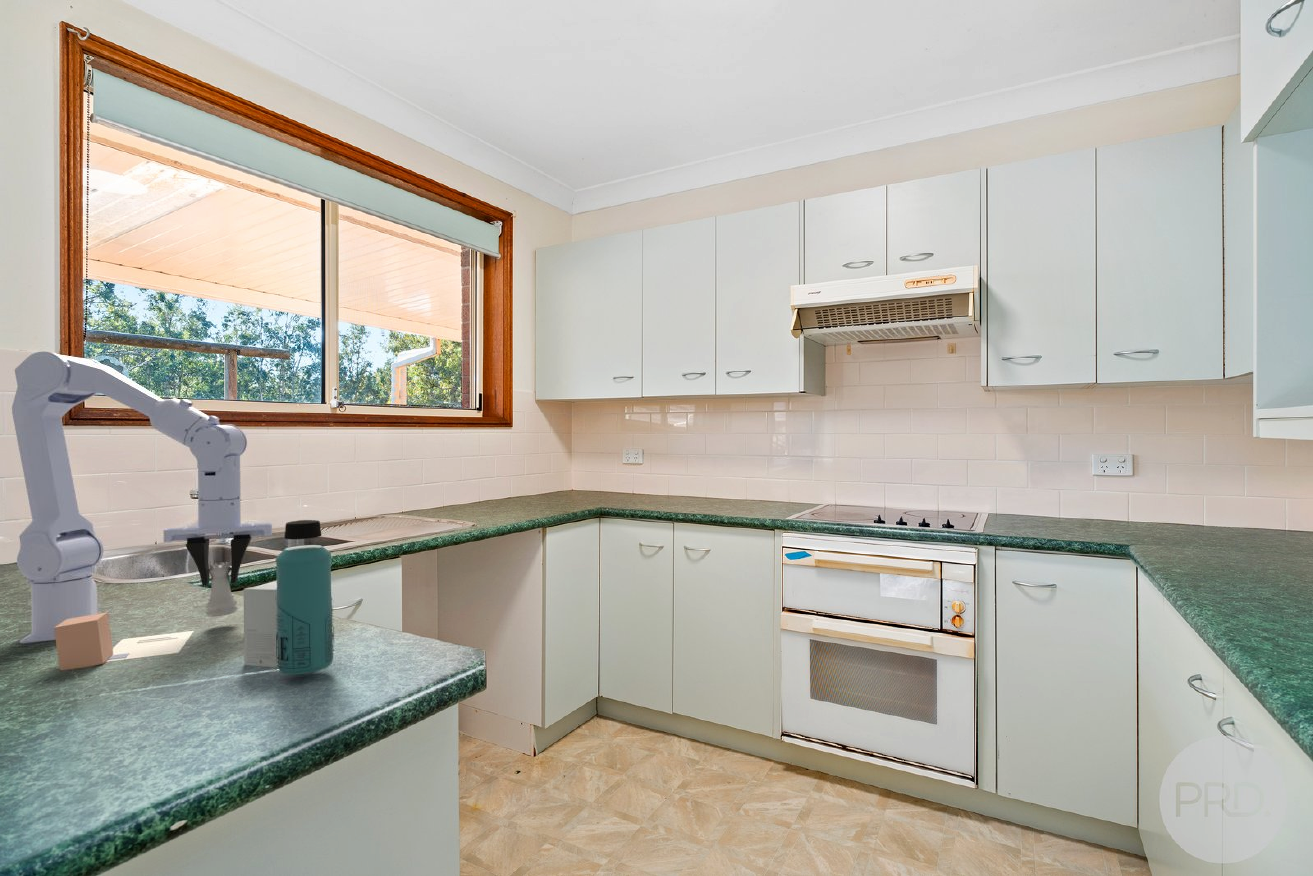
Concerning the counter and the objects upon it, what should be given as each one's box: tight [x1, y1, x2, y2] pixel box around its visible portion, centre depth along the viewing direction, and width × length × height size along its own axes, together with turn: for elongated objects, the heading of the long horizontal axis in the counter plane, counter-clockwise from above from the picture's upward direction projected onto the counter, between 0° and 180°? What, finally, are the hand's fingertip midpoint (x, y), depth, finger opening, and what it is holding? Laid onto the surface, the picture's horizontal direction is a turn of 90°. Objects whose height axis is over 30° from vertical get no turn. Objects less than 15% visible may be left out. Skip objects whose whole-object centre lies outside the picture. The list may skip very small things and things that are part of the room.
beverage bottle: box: [275, 519, 335, 675], centre depth 84 cm, size 6×7×20 cm
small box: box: [243, 580, 278, 668], centre depth 91 cm, size 8×6×10 cm
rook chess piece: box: [205, 561, 239, 618], centre depth 107 cm, size 4×4×8 cm
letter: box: [104, 630, 195, 663], centre depth 97 cm, size 12×9×1 cm
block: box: [54, 611, 114, 671], centre depth 90 cm, size 4×4×6 cm
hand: (220, 583), depth 107 cm, fingers closed on rook chess piece, 3 cm apart
